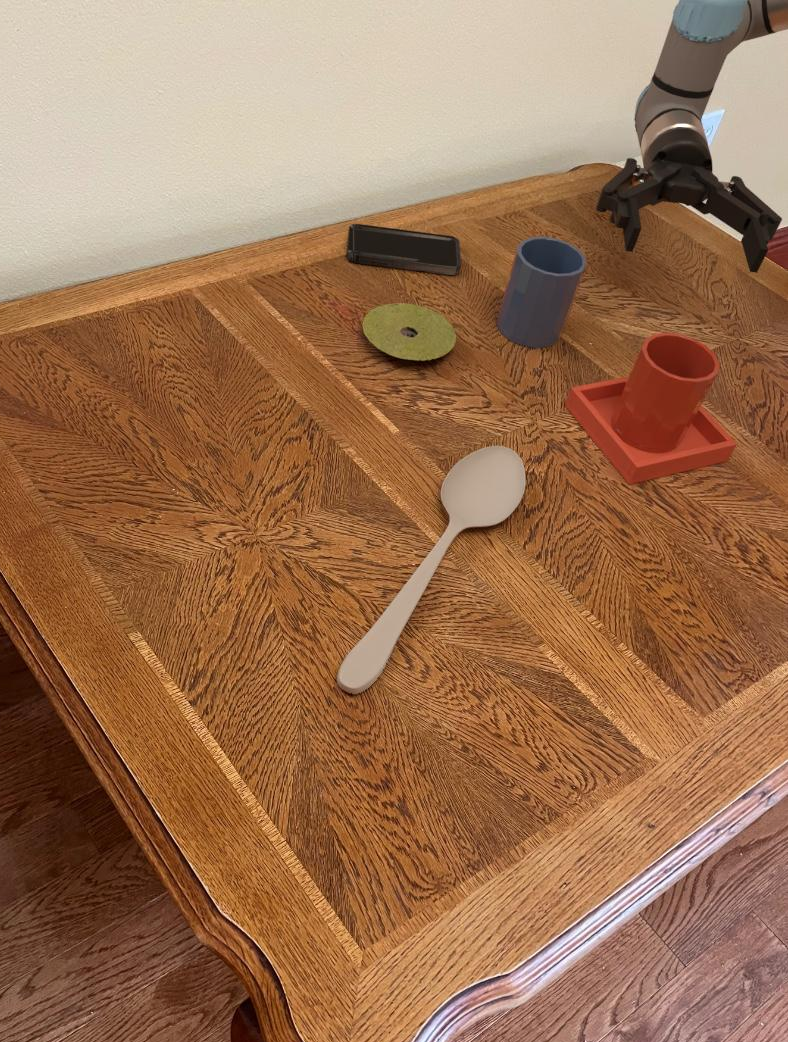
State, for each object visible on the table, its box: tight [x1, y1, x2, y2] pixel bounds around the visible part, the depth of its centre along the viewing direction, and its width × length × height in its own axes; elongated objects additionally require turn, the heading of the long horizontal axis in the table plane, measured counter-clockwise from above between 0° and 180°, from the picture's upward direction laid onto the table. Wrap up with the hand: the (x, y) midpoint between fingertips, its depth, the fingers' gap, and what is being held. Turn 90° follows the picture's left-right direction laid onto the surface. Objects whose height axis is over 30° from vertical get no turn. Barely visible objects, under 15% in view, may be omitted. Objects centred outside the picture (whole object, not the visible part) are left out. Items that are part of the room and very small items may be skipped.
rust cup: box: [611, 332, 721, 453], centre depth 103 cm, size 8×8×10 cm
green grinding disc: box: [362, 302, 457, 362], centre depth 112 cm, size 11×11×2 cm
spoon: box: [336, 445, 527, 695], centre depth 90 cm, size 35×8×3 cm, turn 150°
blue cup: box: [496, 236, 588, 349], centre depth 114 cm, size 8×8×10 cm
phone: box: [346, 223, 462, 276], centre depth 125 cm, size 8×1×15 cm
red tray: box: [564, 375, 738, 485], centre depth 106 cm, size 14×14×3 cm
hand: (696, 250), depth 100 cm, fingers open, 13 cm apart
